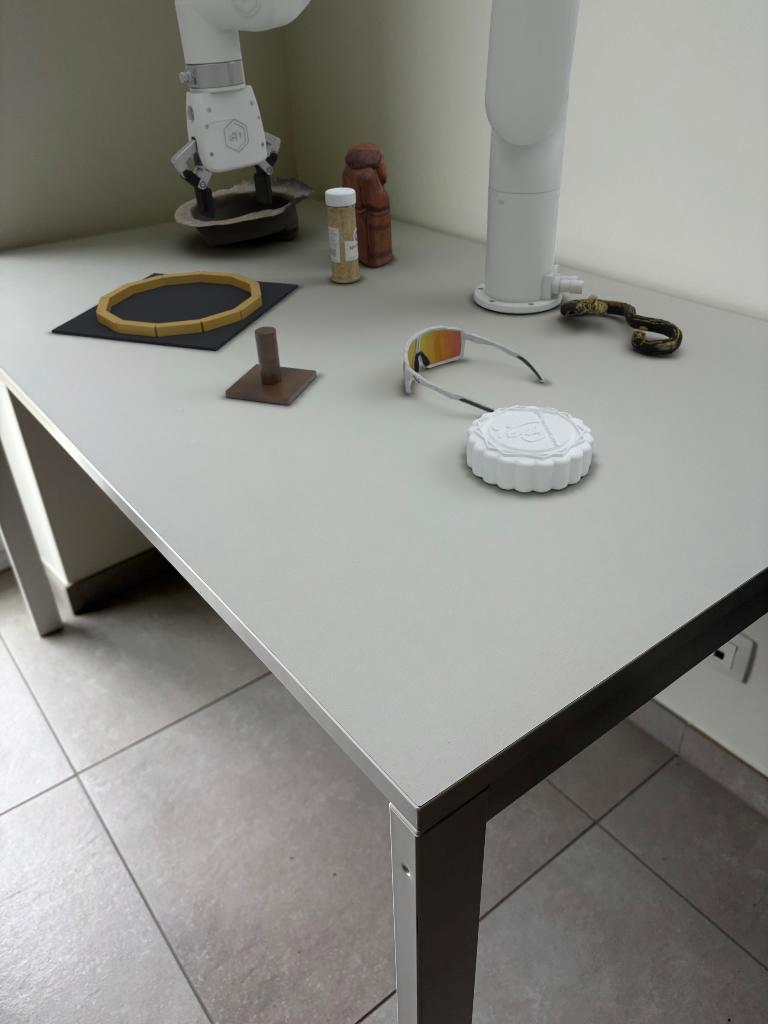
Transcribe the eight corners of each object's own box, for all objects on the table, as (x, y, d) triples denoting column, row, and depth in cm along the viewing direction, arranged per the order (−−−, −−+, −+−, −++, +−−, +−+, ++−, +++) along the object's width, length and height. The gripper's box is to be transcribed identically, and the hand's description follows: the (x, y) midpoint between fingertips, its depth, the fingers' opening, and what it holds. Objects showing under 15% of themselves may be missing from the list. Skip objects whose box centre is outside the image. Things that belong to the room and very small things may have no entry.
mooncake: (456, 436, 83) (456, 405, 81) (569, 427, 83) (573, 396, 81) (479, 499, 73) (480, 465, 71) (607, 488, 73) (612, 454, 71)
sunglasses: (442, 349, 101) (447, 312, 98) (549, 391, 95) (558, 353, 92) (377, 391, 92) (380, 352, 89) (491, 441, 86) (499, 401, 82)
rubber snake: (695, 314, 95) (618, 332, 93) (692, 350, 97) (617, 368, 96) (619, 274, 109) (552, 289, 108) (618, 307, 112) (552, 322, 110)
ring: (287, 286, 123) (286, 277, 123) (212, 343, 105) (210, 333, 104) (157, 275, 130) (155, 267, 129) (65, 327, 112) (63, 318, 111)
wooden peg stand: (316, 376, 96) (311, 320, 92) (288, 405, 90) (282, 347, 86) (257, 369, 99) (249, 314, 95) (226, 397, 92) (216, 340, 88)
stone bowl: (337, 225, 152) (333, 174, 146) (269, 275, 135) (261, 219, 129) (229, 214, 161) (221, 165, 155) (152, 259, 144) (139, 206, 138)
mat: (298, 286, 124) (297, 284, 124) (216, 350, 104) (215, 348, 104) (154, 275, 132) (154, 272, 132) (52, 332, 112) (51, 330, 111)
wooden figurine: (402, 263, 132) (399, 145, 122) (366, 269, 130) (360, 150, 120) (373, 246, 141) (368, 135, 131) (340, 251, 139) (332, 139, 129)
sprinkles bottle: (361, 282, 125) (356, 192, 117) (332, 285, 124) (325, 194, 117) (358, 273, 128) (353, 185, 121) (330, 276, 128) (323, 187, 120)
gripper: (172, 86, 100) (198, 226, 110) (285, 70, 109) (300, 201, 119) (145, 84, 105) (172, 218, 115) (255, 69, 114) (271, 194, 124)
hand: (237, 209), depth 117 cm, fingers open, 9 cm apart
